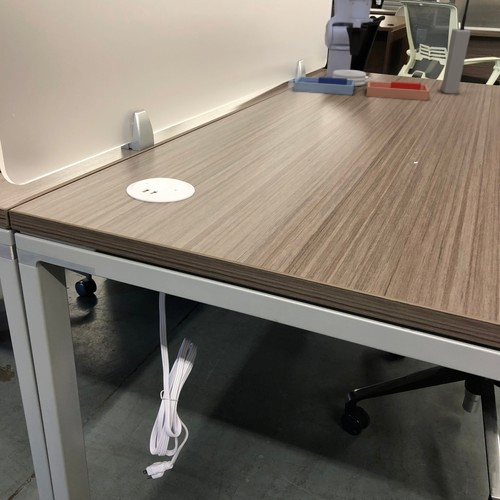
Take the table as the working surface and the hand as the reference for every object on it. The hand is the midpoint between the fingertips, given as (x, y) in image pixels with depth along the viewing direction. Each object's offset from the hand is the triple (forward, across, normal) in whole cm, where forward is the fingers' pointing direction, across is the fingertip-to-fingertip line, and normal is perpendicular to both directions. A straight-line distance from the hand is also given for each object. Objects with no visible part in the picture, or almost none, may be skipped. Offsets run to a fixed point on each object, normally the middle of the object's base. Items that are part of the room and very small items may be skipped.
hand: (354, 53), depth 145 cm
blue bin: (+9, -7, +7) cm, 14 cm away
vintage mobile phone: (+10, +3, -28) cm, 30 cm away
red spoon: (+9, -7, -13) cm, 17 cm away
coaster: (+10, +6, +1) cm, 11 cm away
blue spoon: (+9, -7, +7) cm, 13 cm away
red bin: (+9, -7, -13) cm, 18 cm away
